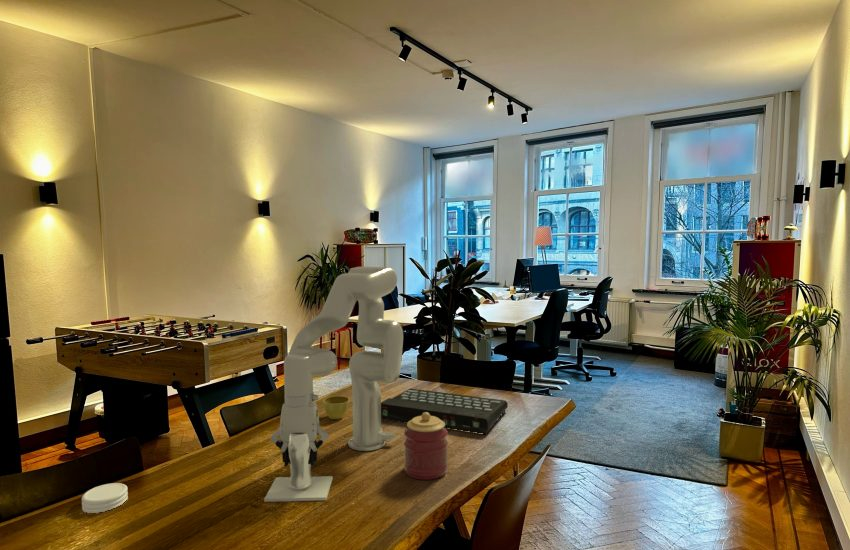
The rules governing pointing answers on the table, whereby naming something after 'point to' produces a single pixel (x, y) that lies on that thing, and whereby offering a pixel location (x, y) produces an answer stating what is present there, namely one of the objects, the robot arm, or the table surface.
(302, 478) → the beer glass
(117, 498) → the white round disc stack
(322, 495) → the grey mat
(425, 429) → the canister
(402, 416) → the computer keyboard
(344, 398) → the flower pot
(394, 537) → the table surface
